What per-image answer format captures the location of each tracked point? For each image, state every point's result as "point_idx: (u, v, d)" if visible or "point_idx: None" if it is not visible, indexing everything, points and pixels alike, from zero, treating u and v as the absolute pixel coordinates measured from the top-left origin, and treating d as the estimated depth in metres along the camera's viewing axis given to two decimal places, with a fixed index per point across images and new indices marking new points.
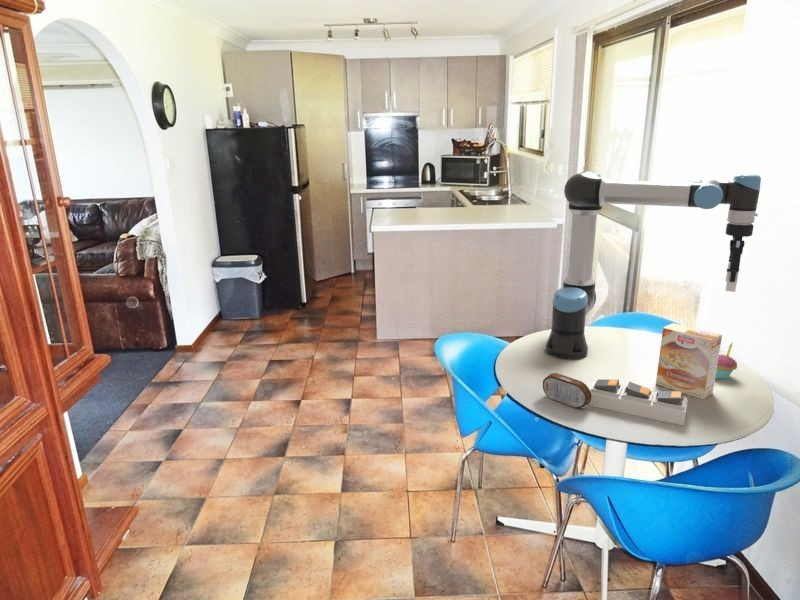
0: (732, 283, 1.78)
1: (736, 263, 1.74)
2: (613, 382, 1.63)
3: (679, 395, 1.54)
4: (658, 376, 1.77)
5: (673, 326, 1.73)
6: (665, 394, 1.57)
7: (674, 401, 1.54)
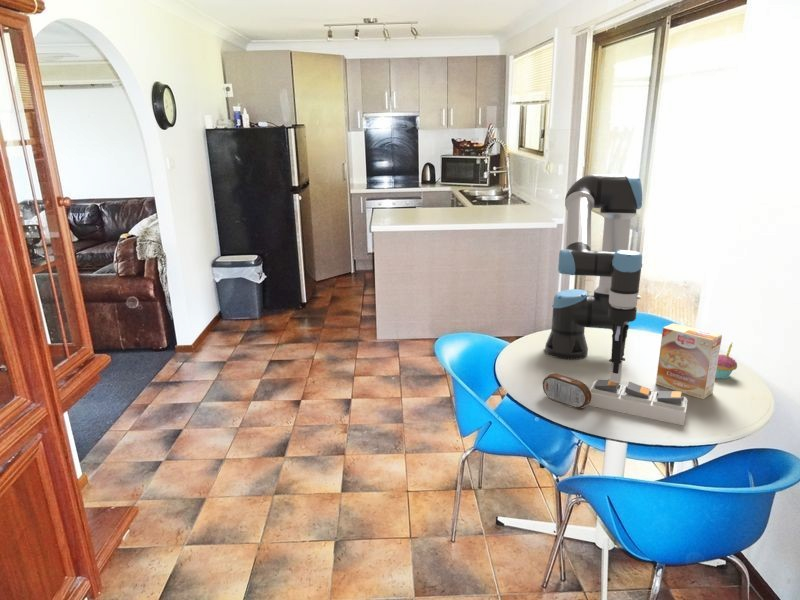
0: (616, 374, 1.62)
1: (617, 356, 1.57)
2: None
3: (679, 395, 1.54)
4: (658, 376, 1.77)
5: (673, 326, 1.73)
6: (665, 394, 1.57)
7: (674, 401, 1.54)
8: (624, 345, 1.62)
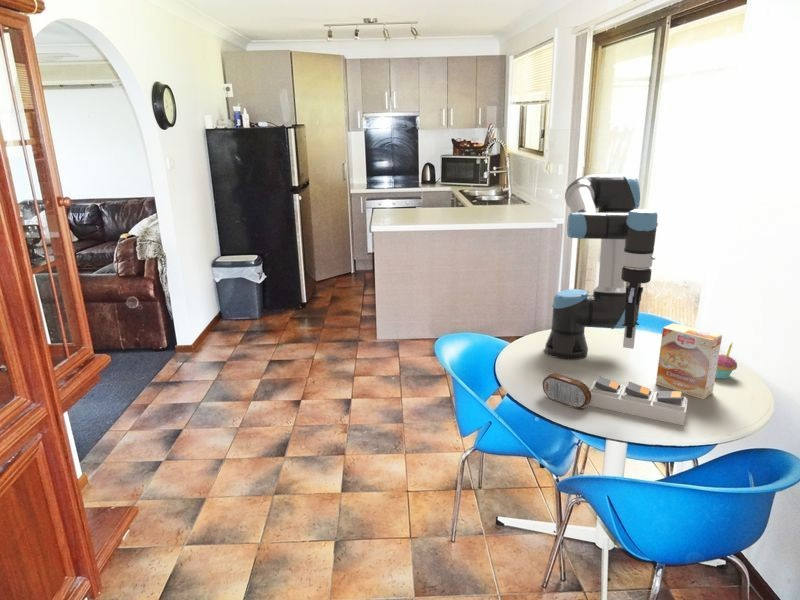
0: (629, 339, 1.57)
1: (630, 319, 1.52)
2: (614, 385, 1.64)
3: (679, 395, 1.54)
4: (658, 376, 1.77)
5: (673, 326, 1.73)
6: (665, 394, 1.57)
7: (674, 401, 1.54)
8: (638, 309, 1.58)
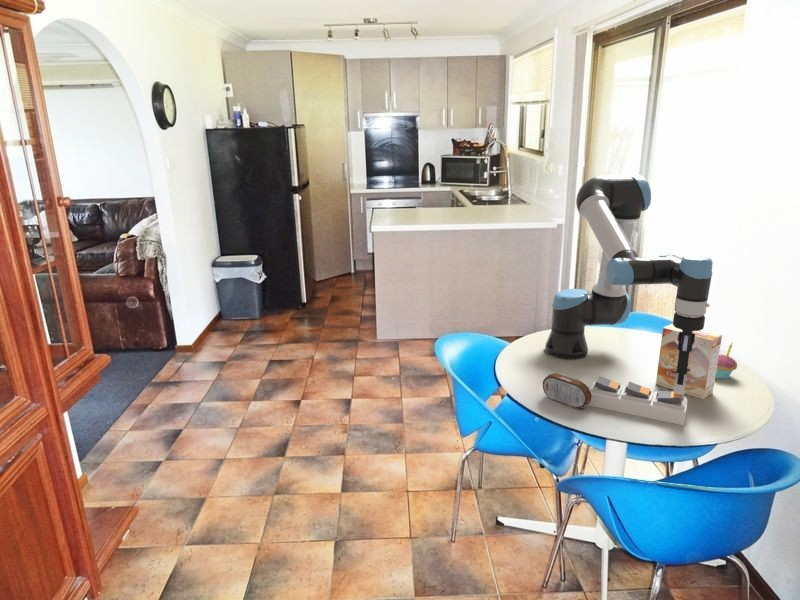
0: (680, 385, 1.54)
1: (683, 367, 1.49)
2: (614, 385, 1.64)
3: (679, 395, 1.54)
4: (658, 376, 1.77)
5: (673, 326, 1.73)
6: (665, 394, 1.57)
7: (674, 401, 1.54)
8: None
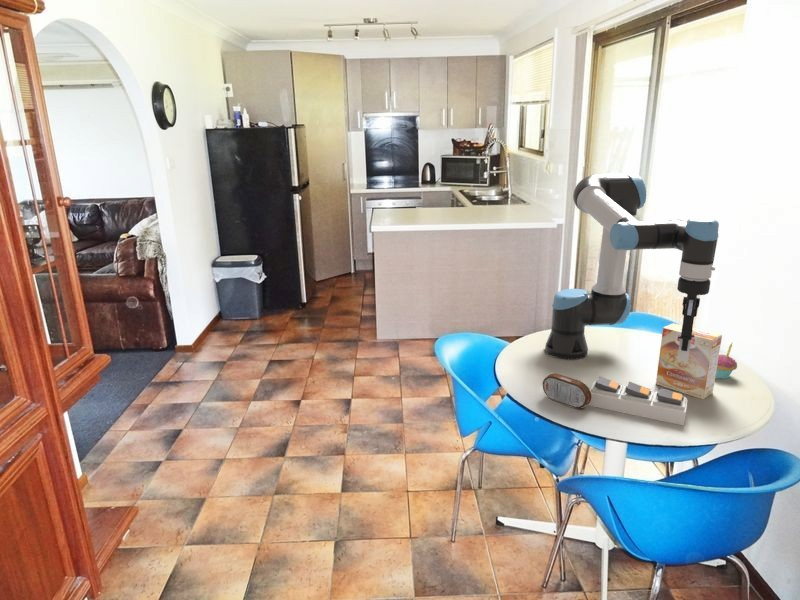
0: (684, 352, 1.51)
1: (687, 332, 1.46)
2: (614, 385, 1.64)
3: (680, 398, 1.55)
4: (658, 376, 1.77)
5: (673, 326, 1.73)
6: (666, 393, 1.57)
7: (674, 402, 1.54)
8: None
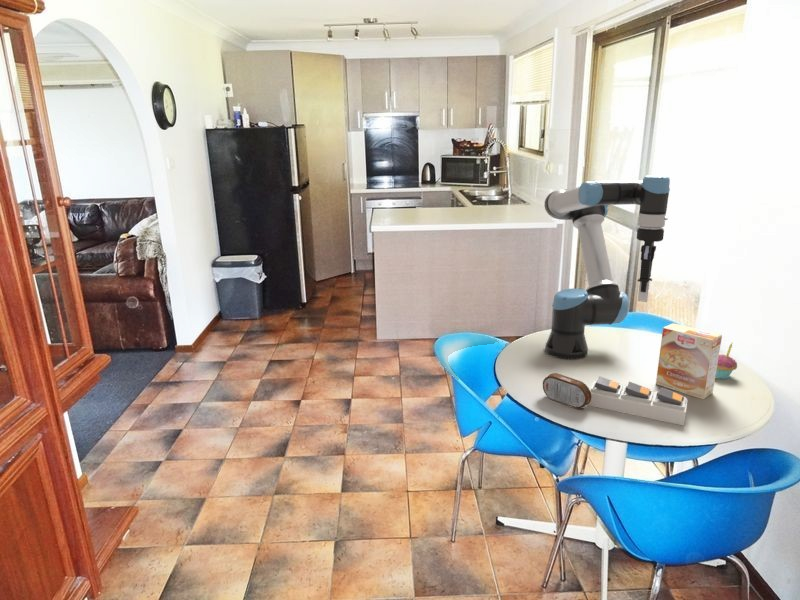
0: (643, 293, 1.74)
1: (645, 275, 1.69)
2: (614, 385, 1.64)
3: (680, 399, 1.55)
4: (658, 376, 1.77)
5: (673, 326, 1.73)
6: (666, 393, 1.57)
7: (673, 403, 1.54)
8: (651, 266, 1.75)
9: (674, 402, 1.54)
